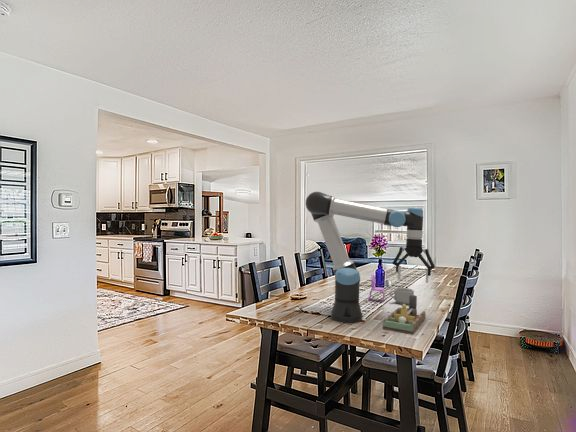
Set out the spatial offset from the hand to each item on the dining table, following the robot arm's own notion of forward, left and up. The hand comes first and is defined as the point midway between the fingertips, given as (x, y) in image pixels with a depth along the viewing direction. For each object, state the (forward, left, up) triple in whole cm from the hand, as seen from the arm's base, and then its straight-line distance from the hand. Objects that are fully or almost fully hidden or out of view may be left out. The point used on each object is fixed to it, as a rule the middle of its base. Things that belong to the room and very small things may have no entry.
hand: (412, 280), depth 185 cm
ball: (-20, -8, -15) cm, 26 cm away
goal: (-24, -9, -16) cm, 30 cm away
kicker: (-8, -3, -17) cm, 19 cm away
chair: (+12, +30, -18) cm, 37 cm away
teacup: (+19, +18, -18) cm, 32 cm away
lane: (-14, -6, -18) cm, 23 cm away
